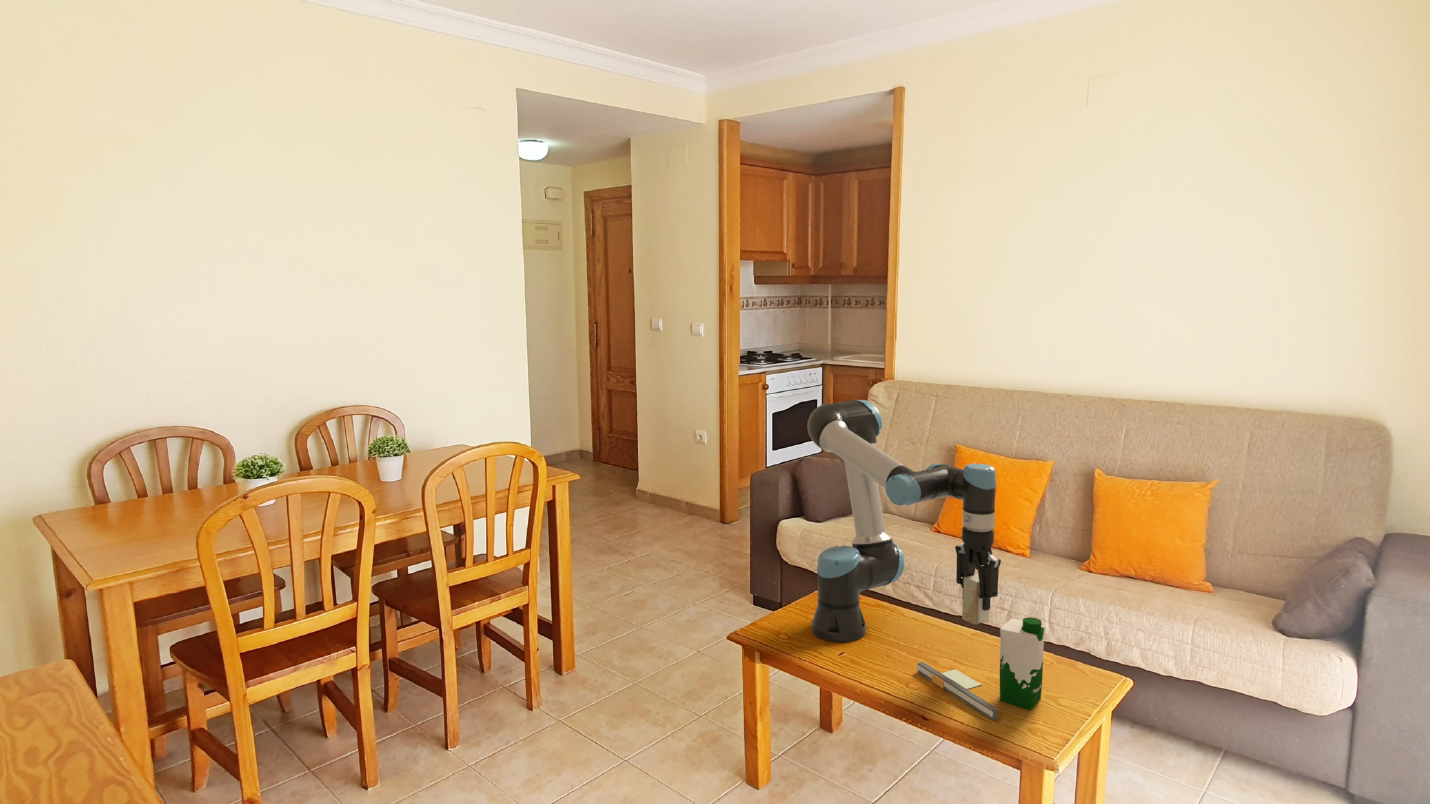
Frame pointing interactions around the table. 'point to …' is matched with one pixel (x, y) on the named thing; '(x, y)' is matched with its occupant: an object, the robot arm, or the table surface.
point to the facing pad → (961, 679)
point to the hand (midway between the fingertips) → (975, 617)
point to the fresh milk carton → (1021, 662)
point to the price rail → (958, 691)
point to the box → (971, 599)
